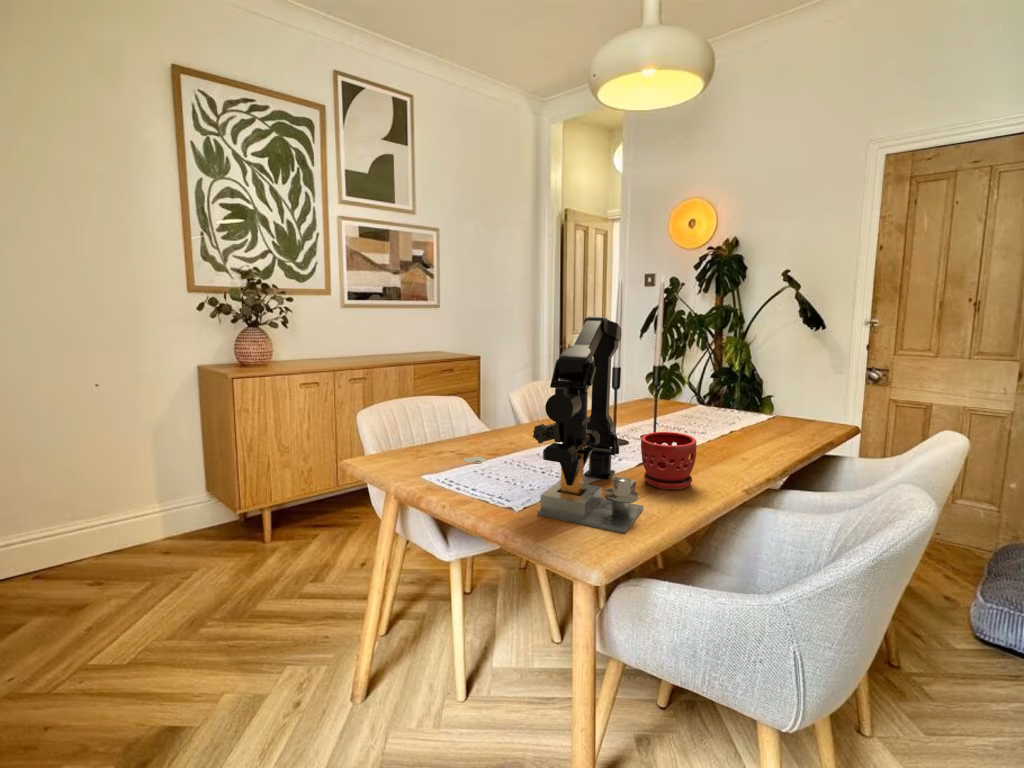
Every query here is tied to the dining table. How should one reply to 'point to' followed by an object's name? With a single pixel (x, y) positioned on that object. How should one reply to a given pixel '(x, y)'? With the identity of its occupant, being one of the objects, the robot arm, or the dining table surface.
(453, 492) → the dining table surface
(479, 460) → the mounting bracket
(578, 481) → the rectangular wooden peg
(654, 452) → the plant pot
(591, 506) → the grey metal frame fixture
